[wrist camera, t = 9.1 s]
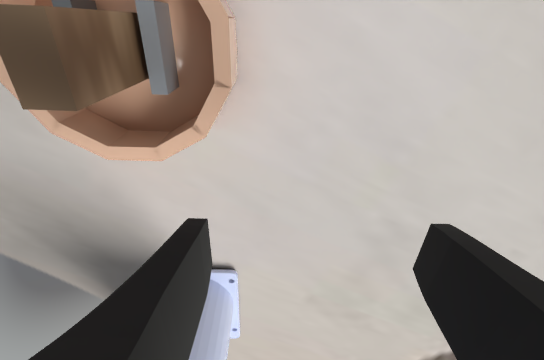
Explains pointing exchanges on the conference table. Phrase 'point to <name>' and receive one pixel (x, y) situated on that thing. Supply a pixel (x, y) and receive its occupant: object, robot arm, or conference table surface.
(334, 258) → the conference table surface
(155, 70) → the round tan tray
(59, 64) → the long tan beam
